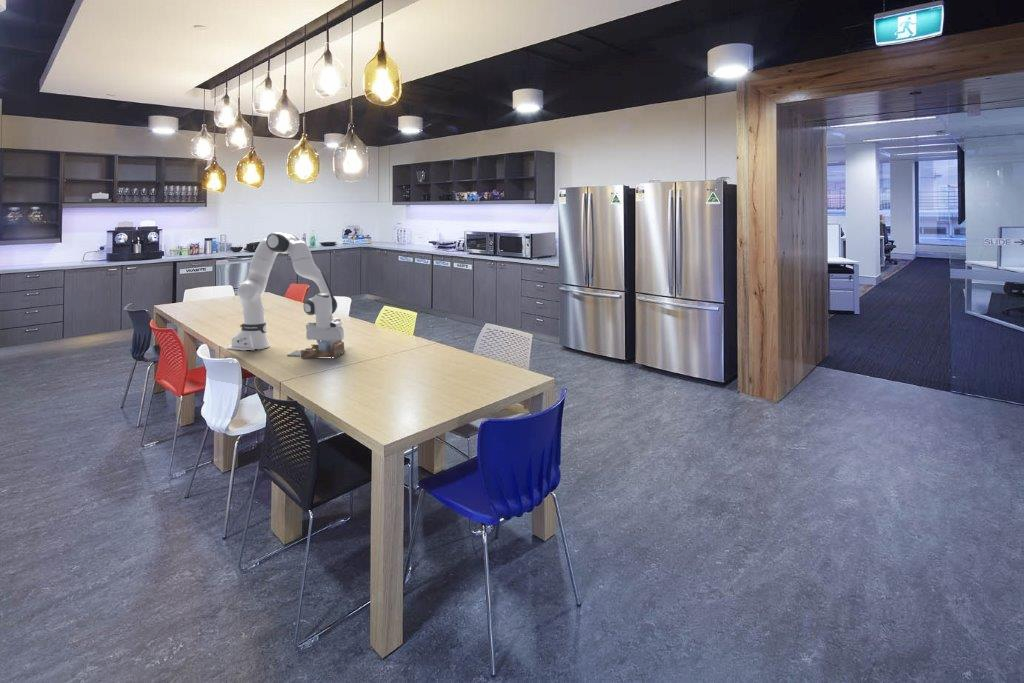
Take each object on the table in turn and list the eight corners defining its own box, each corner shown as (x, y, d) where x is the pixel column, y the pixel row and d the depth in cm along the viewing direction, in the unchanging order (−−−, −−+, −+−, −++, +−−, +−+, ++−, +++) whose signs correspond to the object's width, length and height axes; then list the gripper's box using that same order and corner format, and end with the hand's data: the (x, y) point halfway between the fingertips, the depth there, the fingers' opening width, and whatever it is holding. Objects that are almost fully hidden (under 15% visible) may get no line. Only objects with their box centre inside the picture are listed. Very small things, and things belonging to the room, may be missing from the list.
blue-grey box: (319, 357, 316) (318, 342, 315) (326, 352, 326) (325, 338, 324) (326, 357, 316) (325, 342, 314) (333, 353, 326) (332, 339, 324)
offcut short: (305, 352, 318) (305, 348, 318) (307, 349, 324) (307, 346, 323) (311, 351, 318) (310, 348, 318) (313, 349, 324) (313, 345, 324)
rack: (301, 357, 314) (300, 346, 313) (312, 351, 329) (311, 340, 328) (334, 358, 313) (334, 347, 312) (344, 352, 328) (343, 341, 326)
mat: (287, 356, 317) (287, 355, 317) (296, 351, 328) (296, 350, 327) (299, 356, 316) (299, 355, 316) (308, 351, 327) (308, 350, 327)
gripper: (303, 323, 315) (305, 348, 318) (340, 324, 313) (341, 349, 316) (308, 321, 321) (309, 346, 324) (344, 322, 320) (345, 347, 323)
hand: (325, 347), depth 320 cm, fingers open, 4 cm apart
